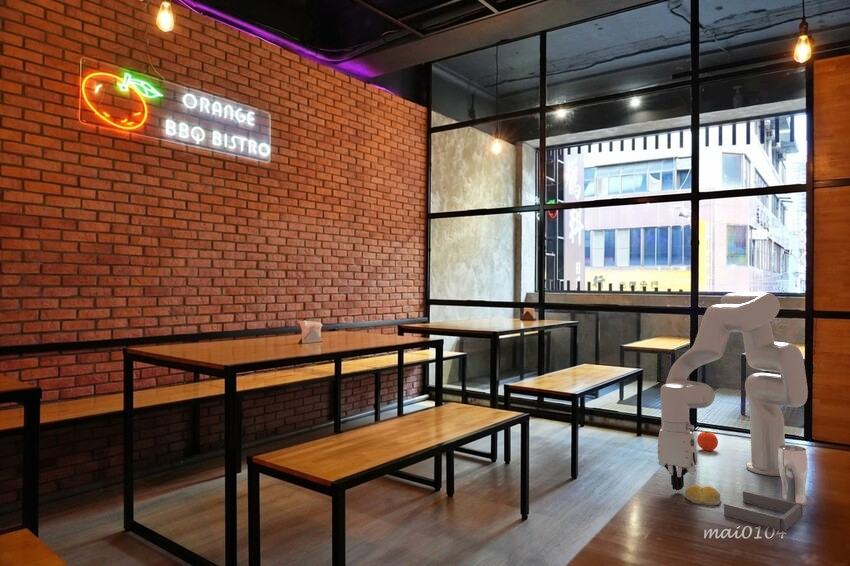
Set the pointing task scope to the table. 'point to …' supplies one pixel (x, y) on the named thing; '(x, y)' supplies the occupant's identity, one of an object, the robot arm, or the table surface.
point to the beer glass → (793, 472)
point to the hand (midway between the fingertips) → (677, 488)
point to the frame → (779, 523)
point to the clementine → (707, 441)
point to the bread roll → (703, 495)
